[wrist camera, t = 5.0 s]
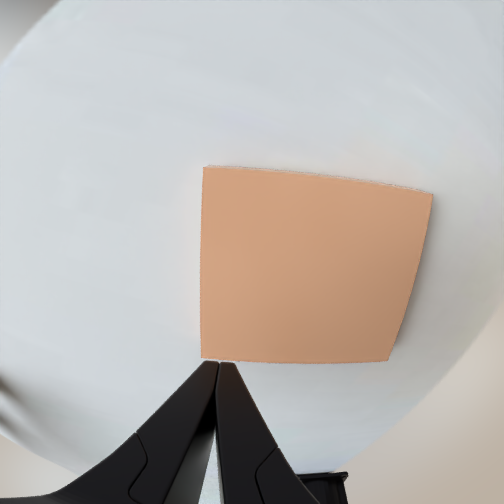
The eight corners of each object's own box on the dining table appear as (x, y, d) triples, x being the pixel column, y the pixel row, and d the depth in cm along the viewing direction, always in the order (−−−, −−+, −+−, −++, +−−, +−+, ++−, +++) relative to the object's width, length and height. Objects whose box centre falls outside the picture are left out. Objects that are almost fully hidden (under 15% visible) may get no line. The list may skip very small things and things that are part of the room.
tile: (209, 164, 14) (414, 188, 14) (205, 337, 18) (376, 342, 18) (203, 167, 12) (433, 194, 13) (201, 357, 16) (387, 361, 16)
